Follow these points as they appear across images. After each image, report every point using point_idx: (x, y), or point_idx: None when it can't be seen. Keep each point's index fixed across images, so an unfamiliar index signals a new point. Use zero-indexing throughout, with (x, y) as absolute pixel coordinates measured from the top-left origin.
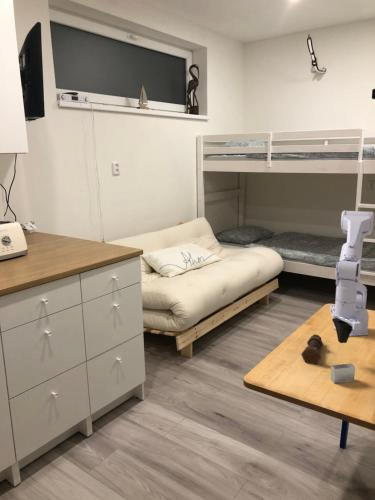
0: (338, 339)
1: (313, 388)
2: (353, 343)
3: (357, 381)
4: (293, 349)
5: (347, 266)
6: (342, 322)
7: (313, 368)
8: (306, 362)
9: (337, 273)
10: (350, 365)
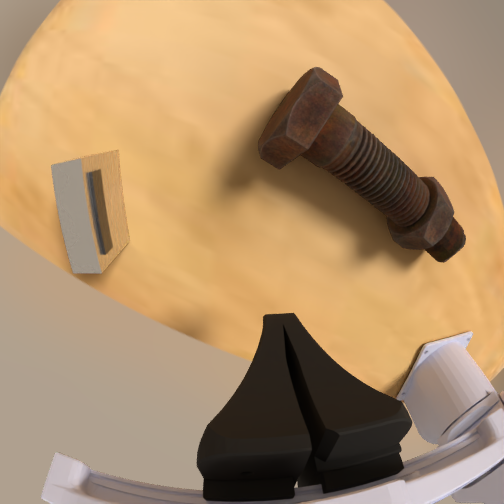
0: (288, 320)
1: (73, 64)
2: (379, 356)
3: None
4: (418, 105)
5: None
6: (252, 475)
7: (225, 104)
8: (288, 93)
9: None
10: (83, 259)
